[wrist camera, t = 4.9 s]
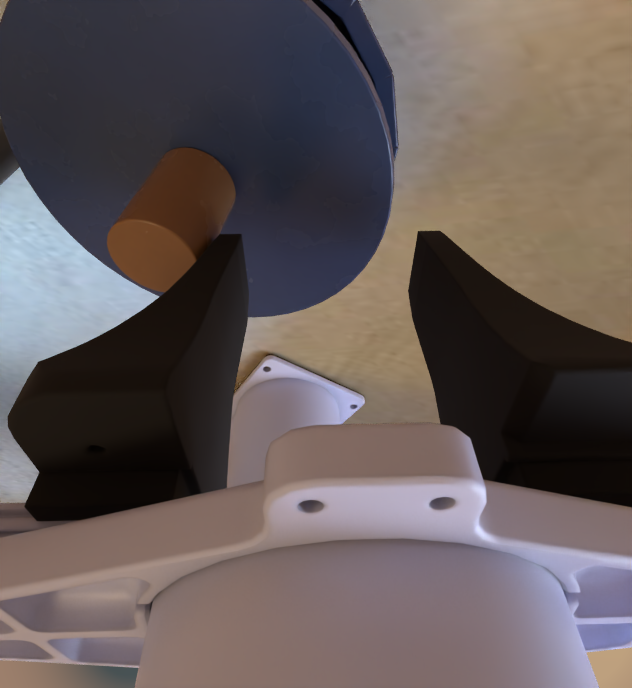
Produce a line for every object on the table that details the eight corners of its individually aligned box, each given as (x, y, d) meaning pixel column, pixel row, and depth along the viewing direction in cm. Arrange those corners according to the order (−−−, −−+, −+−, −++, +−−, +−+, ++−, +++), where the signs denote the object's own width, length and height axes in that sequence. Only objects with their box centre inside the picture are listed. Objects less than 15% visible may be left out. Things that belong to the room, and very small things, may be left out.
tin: (285, 245, 25) (282, 326, 20) (74, 126, 21) (6, 193, 16) (428, 48, 19) (471, 97, 14) (172, -178, 15) (111, -216, 10)
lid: (275, 336, 21) (249, 425, 18) (0, 185, 17) (-88, 269, 14) (486, 138, 13) (496, 244, 10) (48, -246, 9) (-140, -247, 6)
